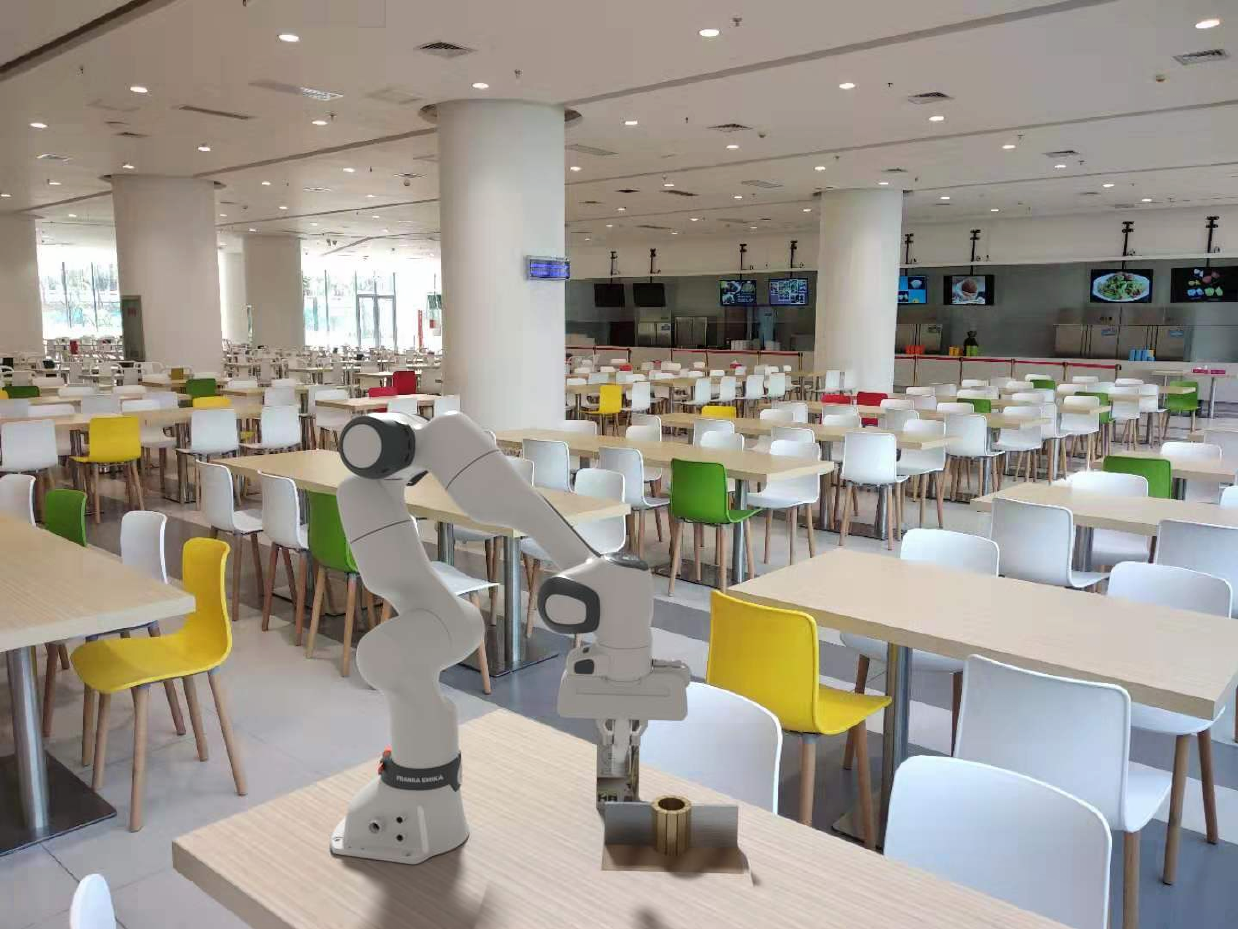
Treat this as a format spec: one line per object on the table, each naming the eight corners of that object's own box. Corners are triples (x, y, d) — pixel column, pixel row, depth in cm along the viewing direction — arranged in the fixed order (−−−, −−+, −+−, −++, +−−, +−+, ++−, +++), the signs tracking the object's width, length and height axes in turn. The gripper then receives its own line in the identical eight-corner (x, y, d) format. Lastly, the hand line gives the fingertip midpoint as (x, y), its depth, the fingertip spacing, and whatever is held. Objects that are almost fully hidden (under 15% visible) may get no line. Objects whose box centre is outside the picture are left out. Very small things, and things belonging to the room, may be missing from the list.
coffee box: (630, 820, 167) (632, 731, 165) (594, 816, 168) (595, 728, 166) (640, 796, 176) (641, 712, 174) (605, 792, 177) (606, 709, 175)
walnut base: (601, 879, 148) (601, 870, 148) (604, 839, 160) (604, 831, 160) (743, 882, 148) (743, 873, 148) (735, 842, 160) (735, 834, 160)
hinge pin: (611, 776, 148) (612, 702, 146) (611, 768, 151) (613, 695, 149) (630, 777, 148) (632, 702, 146) (630, 768, 151) (632, 695, 149)
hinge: (603, 853, 153) (604, 812, 152) (605, 833, 159) (605, 793, 158) (739, 857, 152) (740, 815, 152) (735, 836, 159) (736, 796, 158)
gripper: (690, 653, 150) (687, 738, 152) (560, 650, 150) (559, 734, 152) (692, 667, 144) (689, 755, 145) (556, 663, 144) (555, 750, 146)
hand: (621, 744), depth 149 cm, fingers closed on hinge pin, 3 cm apart
